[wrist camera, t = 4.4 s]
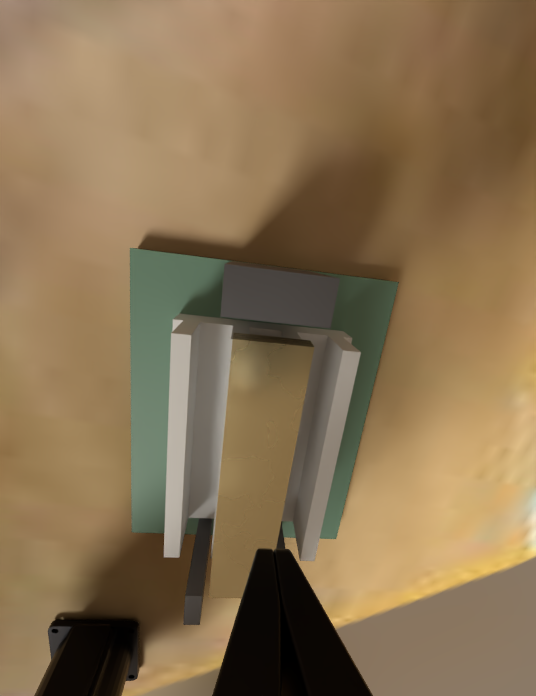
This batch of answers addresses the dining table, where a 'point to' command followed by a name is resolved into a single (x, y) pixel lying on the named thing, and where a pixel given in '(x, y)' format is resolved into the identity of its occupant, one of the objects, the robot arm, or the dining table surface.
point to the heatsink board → (212, 388)
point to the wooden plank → (256, 452)
